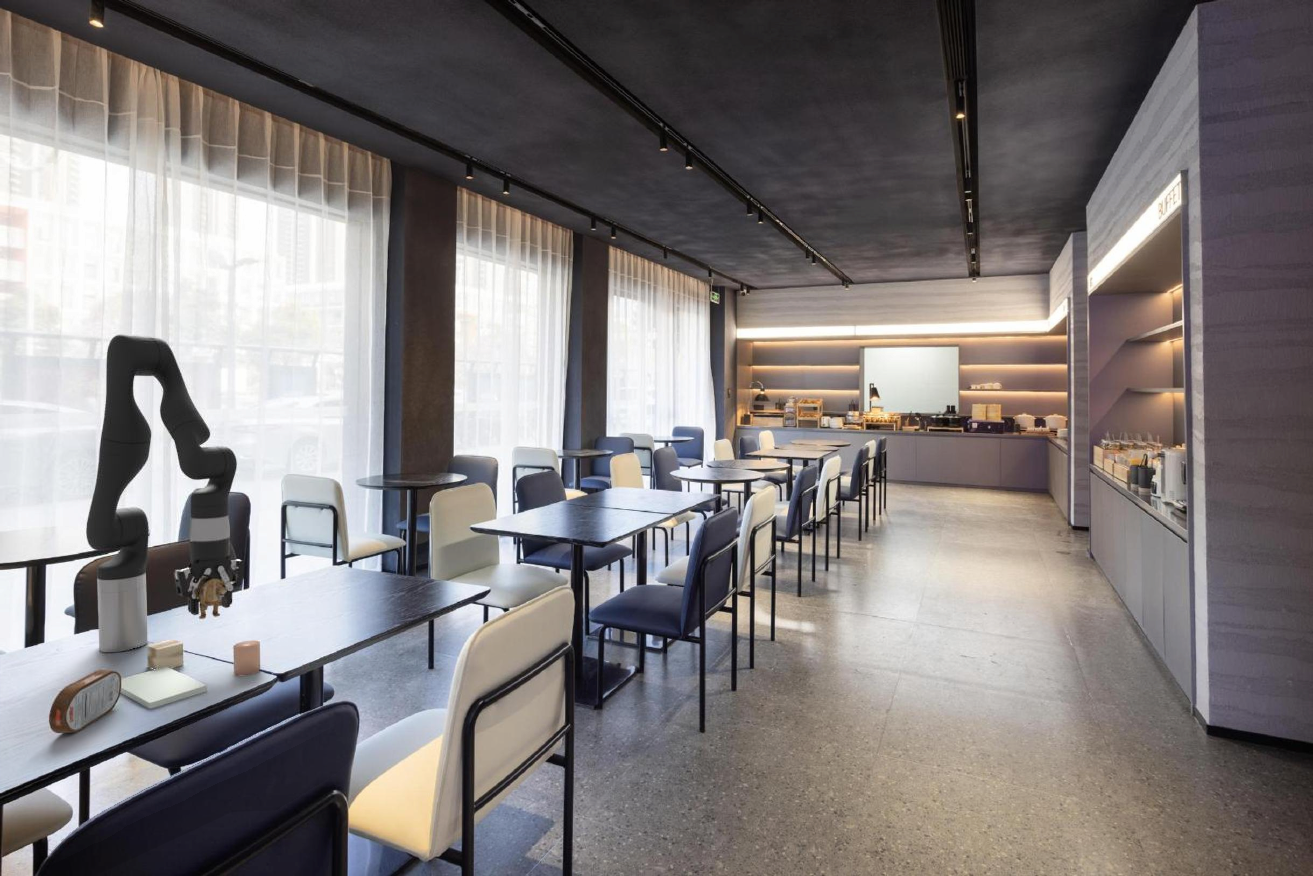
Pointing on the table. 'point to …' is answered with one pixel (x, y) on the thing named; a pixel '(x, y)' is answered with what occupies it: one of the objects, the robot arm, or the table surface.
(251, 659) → the peach rounded cylinder
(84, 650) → the table surface
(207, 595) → the lion figurine
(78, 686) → the tin
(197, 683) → the sage board
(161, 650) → the birch block
